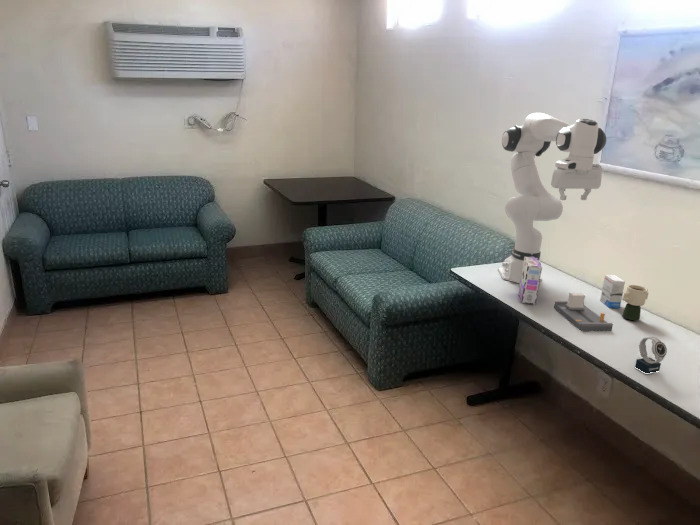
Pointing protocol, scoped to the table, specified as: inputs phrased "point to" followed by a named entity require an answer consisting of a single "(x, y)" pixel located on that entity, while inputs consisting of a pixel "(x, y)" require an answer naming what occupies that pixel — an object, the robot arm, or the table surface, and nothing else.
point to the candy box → (530, 280)
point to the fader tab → (575, 301)
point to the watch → (646, 362)
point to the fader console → (583, 318)
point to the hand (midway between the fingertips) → (573, 199)
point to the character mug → (634, 301)
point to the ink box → (612, 291)
